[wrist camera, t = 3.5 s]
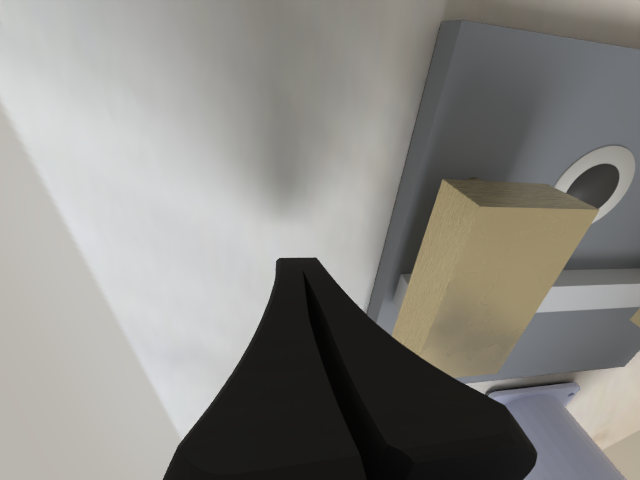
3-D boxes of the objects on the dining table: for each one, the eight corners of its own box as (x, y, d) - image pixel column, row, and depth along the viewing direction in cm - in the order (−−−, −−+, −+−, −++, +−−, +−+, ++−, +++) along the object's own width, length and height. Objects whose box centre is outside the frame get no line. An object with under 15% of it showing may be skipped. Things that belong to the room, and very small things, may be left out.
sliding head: (457, 318, 16) (497, 373, 13) (381, 322, 15) (408, 382, 12) (523, 172, 12) (599, 209, 9) (426, 167, 11) (480, 206, 8)
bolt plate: (608, 352, 24) (674, 410, 20) (350, 377, 19) (373, 455, 16) (838, 86, 14) (1039, 102, 11) (441, 21, 10) (548, 12, 6)
